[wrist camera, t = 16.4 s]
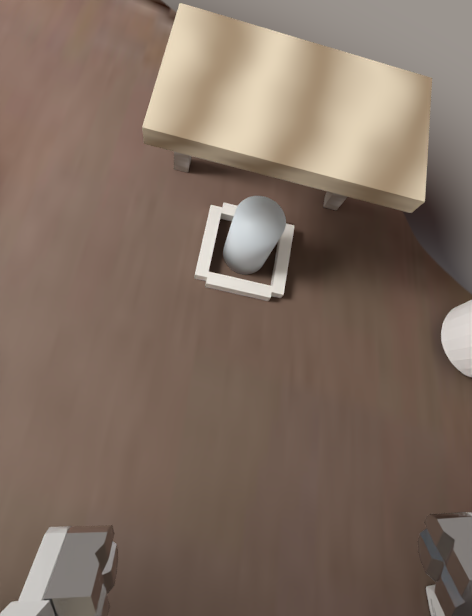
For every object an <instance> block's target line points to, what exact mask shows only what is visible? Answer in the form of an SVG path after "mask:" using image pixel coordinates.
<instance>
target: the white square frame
mask: <svg viewBox="0 0 472 616" xmlns="http://www.w3.org/2000/svg"><path fill="white" fill-rule="evenodd" d="M237 207H238V206H236V205H232V204H228V203H223V207H218V206H214V205H211V206H210V211H209V215H208V219H207V224H206V228H205V233H204V237H203V241H202V246H201V250H200V254H199V259H198V263H197V268H196V272H195V277H194V279H199V280H203V281H206V285H205V287H208V288H212V289H217V290H221V291H225V292H230V293H234V294H239V295H243V296H247V297H252V298H256V299H261V300H265V301H268V300H269V299H270V298H271V296H273V297H278V298H281V297H282V296H283V295H284V289H285V283H286V276H287V270H288V264H289V258H290V251H291V245H292V239H293V233H294V225H290V224H286V226H285V230H284V232H283V234H282V235H281V237H280V239H279V240H278V245H277V251H276V256H275V262H274V268H273V274H272V280H271V286H269V285H265V284H261V283H256V282H252V281H248V280H243V279H239V278H234V277H230V276H226V275H221V274H217V273H213V272H209V267H210V262H211V258H212V253H213V249H214V244H215V240H216V235H217V231H218V226H219V221H220V219H224V220H228V221H232V220H233V217H234V214H235V211H236V208H237Z"/></svg>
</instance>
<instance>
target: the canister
mask: <svg viewBox="0 0 472 616" xmlns="http://www.w3.org/2000/svg"><path fill="white" fill-rule="evenodd" d="M285 226H286V218H285V215H284V212H283V210H282V209H281V207H280V206H279V205H278V204H277V203H276V202H275V201H273V200H271V199H269V198H267V197H263V196H252V197H249V198H246V199H245V200H243V201H242V202H241V203H240V204H239V205H238V207H237V208H236V211H235V214H234V217H233V220H232V223H231V226H230V230H229V233H228V236H227V239H226V242H225V245H224V249H223V258H224V261H225V263H226V264H227V266H228V267H229V268H230V269H231V270H233V271H234V272H236V273H239V274H244V275H247V274H252V273H255V272H257V271H258V270H259V269H260V268H261V267H262V266H263V264H264V263H265V261H266V259H267V258H268V256H269V255H270V253H271V251H272V250H273V248H274V247H275V245H276V243H277V242H278V240H279V239H280V237H281V235H282V234H283V232H284V230H285Z"/></svg>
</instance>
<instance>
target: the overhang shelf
mask: <svg viewBox="0 0 472 616" xmlns="http://www.w3.org/2000/svg"><path fill="white" fill-rule="evenodd" d="M431 87H432V78H430V77H427V76H423V75H420V74H417V73H413V72H410V71H406V70H403V69H400V68H397V67H393V66H390V65H387V64H383V63H380V62H377V61H373V60H370V59H366V58H363V57H360V56H356V55H353V54H350V53H346V52H343V51H340V50H336V49H333V48H330V47H326V46H323V45H320V44H316V43H312V42H309V41H306V40H303V39H299V38H296V37H293V36H289V35H286V34H283V33H279V32H276V31H272V30H269V29H266V28H262V27H259V26H256V25H253V24H249V23H246V22H242V21H239V20H235V19H232V18H229V17H226V16H222V15H219V14H216V13H212V12H209V11H205V10H202V9H199V8H196V7H192V6H189V5H185V4H182V3H180V4H179V7H178V11H177V14H176V17H175V21H174V24H173V27H172V31H171V34H170V37H169V41H168V44H167V47H166V50H165V54H164V57H163V60H162V64H161V67H160V70H159V74H158V77H157V80H156V84H155V87H154V90H153V93H152V97H151V100H150V103H149V107H148V110H147V113H146V117H145V120H144V123H143V127H142V129H143V139H144V144H147V145H151V146H155V147H158V148H162V149H166V150H170V151H174V169H176V170H180V171H183V172H187V173H188V171H189V167H190V163H191V156H193V157H197V158H201V159H205V160H209V161H212V162H216V163H220V164H224V165H228V166H232V167H236V168H239V169H243V170H247V171H251V172H255V173H259V174H262V175H266V176H270V177H274V178H278V179H282V180H286V181H289V182H293V183H297V184H301V185H305V186H309V187H313V188H316V189H320V190H324V191H328V192H327V193H326V195H325V199H324V206H323V207H325V208H329V209H332V210H337V209H338V208H339V207H340V205H341V204H342V203H343V202H344V201H345V199H346V198H347V197H351V198H355V199H359V200H363V201H366V202H370V203H374V204H378V205H382V206H386V207H390V208H393V209H397V210H401V211H405V212H409V213H411V212H413V211H414V210H415V209H417V208H418V207H419V206H420V205H421V204H422V203H424V202H425V190H426V173H427V155H428V139H429V120H430V104H431Z"/></svg>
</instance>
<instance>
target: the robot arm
mask: <svg viewBox="0 0 472 616" xmlns="http://www.w3.org/2000/svg"><path fill="white" fill-rule="evenodd" d="M424 523H425V525H426V527H427V528H426V529H425V530H424V531H422V532H421V533H420V535H419V538H418V553H419V557H420V560H421V563H422V565H423V568H424V570H425V572H426V574H428V575H429V576H430V577H431V578H432V579H433V580H434V581H435V582H436V585H435V591H434V592H435V595H436V597H437V599H438V601H439V603H440V606H441V608H442V610H443V612H444V614H445V616H472V512H469V513H466V512H459V513H441V514H430V515H428V516H426V519H425V521H424ZM113 538H114V530H113V526H112V525H106V526H62V527H50V528H49V529H48V530H47V532H46V533H45V535H44V537H43V540H42V542H41V545H40V547H39V550H38V552H37V555H36V557H35V560H34V562H33V565H32V567H31V570H30V573H29V575H28V578H27V580H26V583H25V585H24V588H23V590H22V593H21V595H20V598H19V600H18V601H12V602H11V603H10V604H9V605H8V606H7V607H6V608H5V609H4V610H3V611H2V612H1V613H0V616H108V613H109V608H110V605H109V601H108V596H107V594H108V593H109V591H110V590H111V589H112V588H113V587H114V584H115V579H116V574H117V565H118V549H117V544H116V543H114V542H113Z"/></svg>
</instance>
